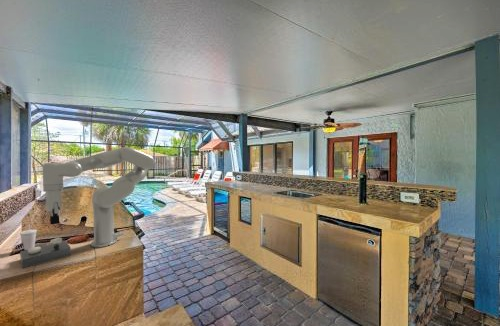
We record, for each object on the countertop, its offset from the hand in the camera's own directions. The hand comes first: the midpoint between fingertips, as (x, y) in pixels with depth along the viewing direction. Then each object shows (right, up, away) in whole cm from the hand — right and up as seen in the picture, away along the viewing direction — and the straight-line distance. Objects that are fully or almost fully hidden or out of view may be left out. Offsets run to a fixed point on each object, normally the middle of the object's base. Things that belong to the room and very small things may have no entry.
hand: (54, 223), depth 111 cm
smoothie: (-19, -16, +6) cm, 26 cm away
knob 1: (-5, -14, -5) cm, 16 cm away
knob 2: (0, -12, +1) cm, 12 cm away
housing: (-3, -16, -2) cm, 17 cm away
